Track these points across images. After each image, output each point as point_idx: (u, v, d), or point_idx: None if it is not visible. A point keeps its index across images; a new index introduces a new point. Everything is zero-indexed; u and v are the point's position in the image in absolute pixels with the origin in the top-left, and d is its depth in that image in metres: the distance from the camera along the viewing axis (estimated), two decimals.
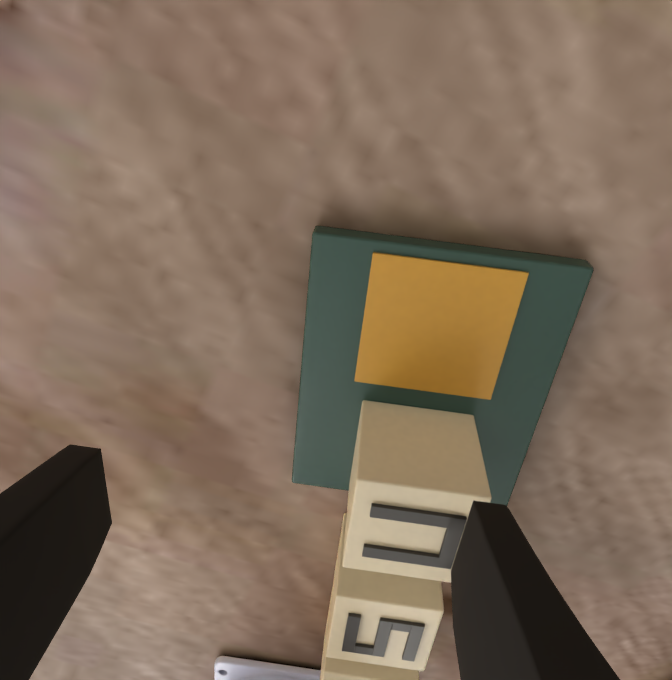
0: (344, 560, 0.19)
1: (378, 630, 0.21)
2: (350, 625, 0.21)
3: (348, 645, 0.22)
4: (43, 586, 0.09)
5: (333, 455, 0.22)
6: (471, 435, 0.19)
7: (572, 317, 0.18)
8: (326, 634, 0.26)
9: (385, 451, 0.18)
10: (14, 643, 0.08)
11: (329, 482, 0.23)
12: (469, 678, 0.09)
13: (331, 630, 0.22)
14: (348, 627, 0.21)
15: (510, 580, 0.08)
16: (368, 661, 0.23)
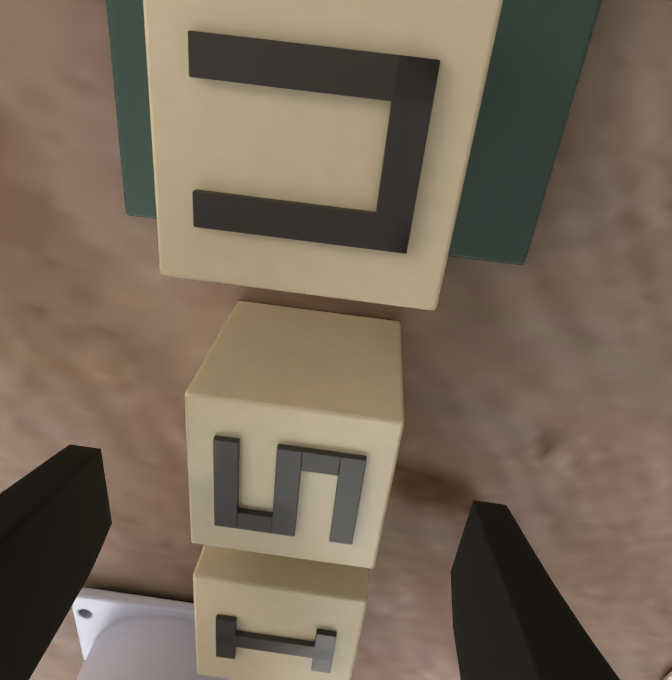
0: (160, 252, 0.08)
1: (277, 474, 0.11)
2: (220, 463, 0.11)
3: (224, 511, 0.11)
4: (43, 586, 0.09)
5: None
6: None
7: None
8: None
9: None
10: (14, 643, 0.08)
11: None
12: (469, 678, 0.09)
13: (189, 481, 0.11)
14: (217, 468, 0.11)
15: (510, 580, 0.08)
16: (269, 549, 0.12)
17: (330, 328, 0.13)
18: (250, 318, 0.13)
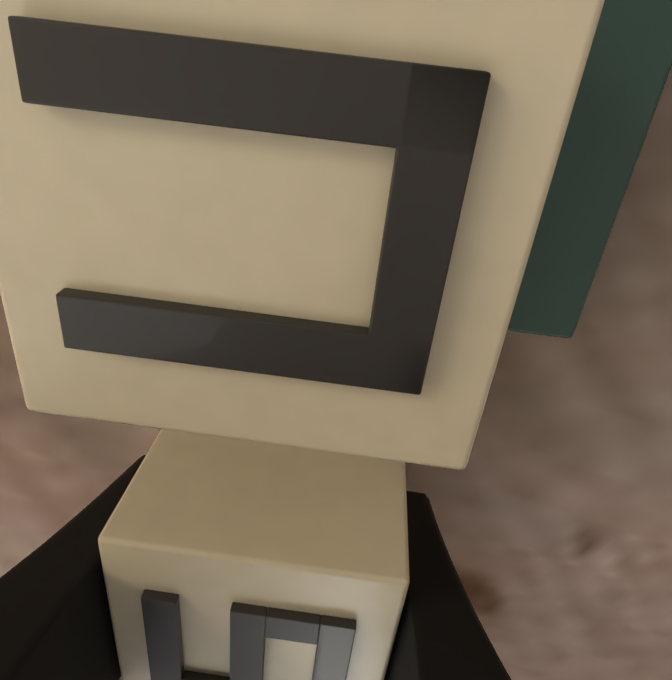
0: (22, 379, 0.05)
1: (233, 638, 0.08)
2: (154, 625, 0.08)
3: (164, 678, 0.08)
4: None
5: None
6: None
7: None
8: None
9: None
10: (104, 655, 0.08)
11: None
12: None
13: (116, 638, 0.08)
14: (150, 630, 0.08)
15: (410, 566, 0.08)
16: None
17: None
18: None
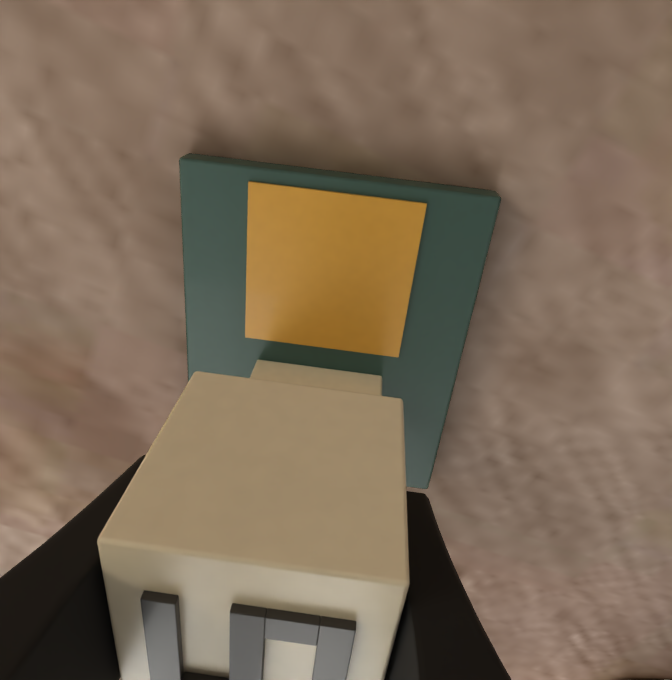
0: None
1: (232, 640, 0.08)
2: (153, 626, 0.08)
3: (163, 679, 0.08)
4: None
5: None
6: None
7: (481, 257, 0.16)
8: None
9: None
10: (103, 655, 0.08)
11: None
12: None
13: (115, 639, 0.08)
14: (149, 631, 0.08)
15: (410, 566, 0.08)
16: None
17: (312, 414, 0.10)
18: (207, 400, 0.10)
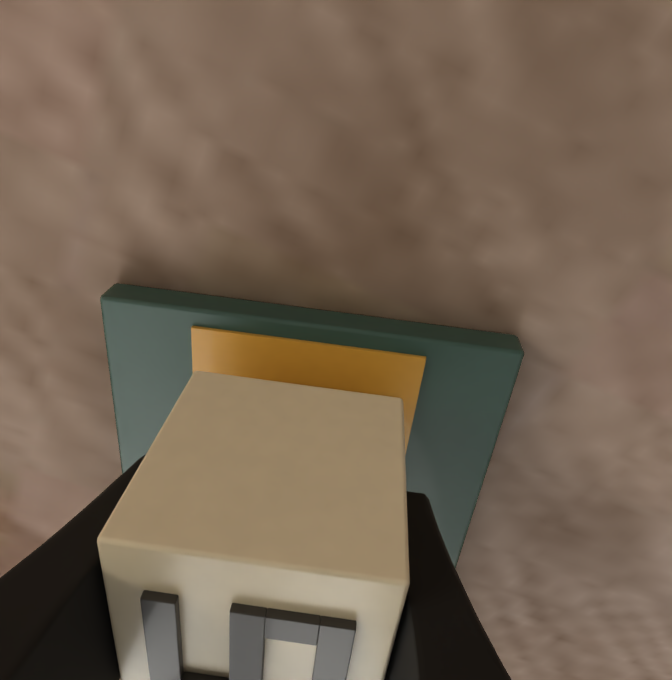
0: None
1: (232, 639, 0.08)
2: (153, 626, 0.08)
3: (163, 679, 0.08)
4: None
5: None
6: None
7: (497, 419, 0.12)
8: None
9: None
10: (104, 656, 0.08)
11: None
12: None
13: (115, 639, 0.08)
14: (149, 631, 0.08)
15: (410, 566, 0.08)
16: None
17: (313, 413, 0.10)
18: (207, 399, 0.10)
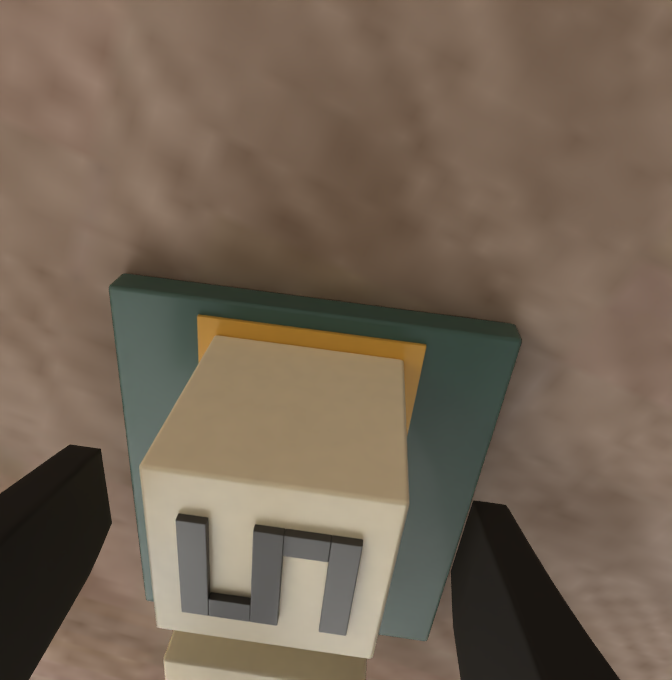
0: None
1: (254, 558, 0.09)
2: (186, 546, 0.09)
3: (193, 598, 0.10)
4: (43, 586, 0.09)
5: None
6: None
7: (495, 406, 0.12)
8: None
9: None
10: (13, 643, 0.08)
11: None
12: (469, 678, 0.09)
13: (151, 562, 0.09)
14: (182, 551, 0.09)
15: (510, 580, 0.08)
16: (248, 636, 0.10)
17: (322, 371, 0.11)
18: (228, 358, 0.11)
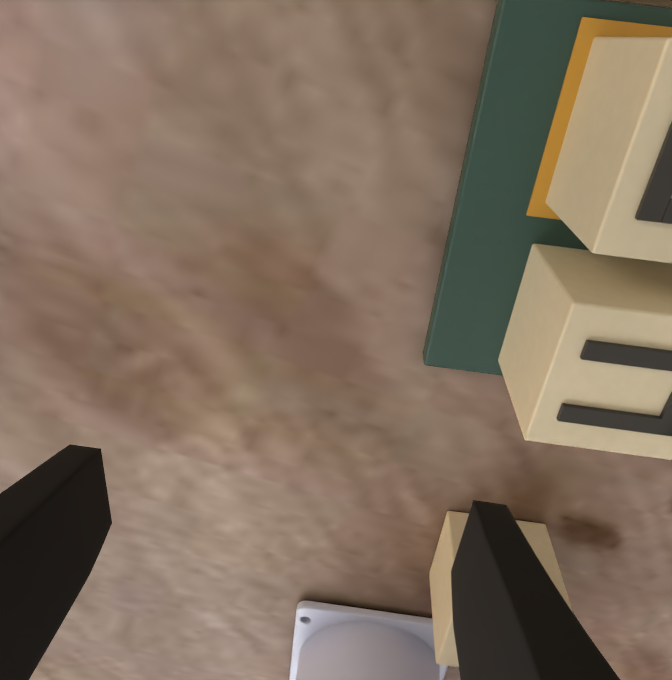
0: (529, 430, 0.14)
1: None
2: None
3: (656, 199, 0.11)
4: (43, 586, 0.09)
5: (482, 325, 0.18)
6: None
7: None
8: (445, 562, 0.22)
9: (590, 282, 0.14)
10: (14, 643, 0.08)
11: (471, 363, 0.18)
12: (469, 678, 0.09)
13: (626, 163, 0.11)
14: None
15: (510, 580, 0.08)
16: None
17: None
18: None
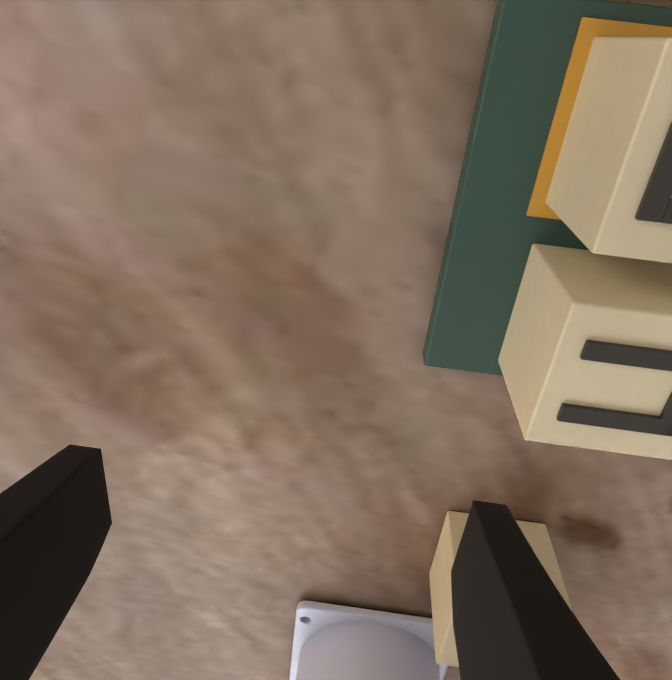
0: (529, 430, 0.14)
1: None
2: None
3: (656, 199, 0.11)
4: (43, 586, 0.09)
5: (482, 325, 0.18)
6: None
7: None
8: (445, 562, 0.22)
9: (590, 282, 0.14)
10: (14, 643, 0.08)
11: (471, 363, 0.18)
12: (469, 678, 0.09)
13: (626, 163, 0.11)
14: None
15: (510, 580, 0.08)
16: None
17: None
18: None
